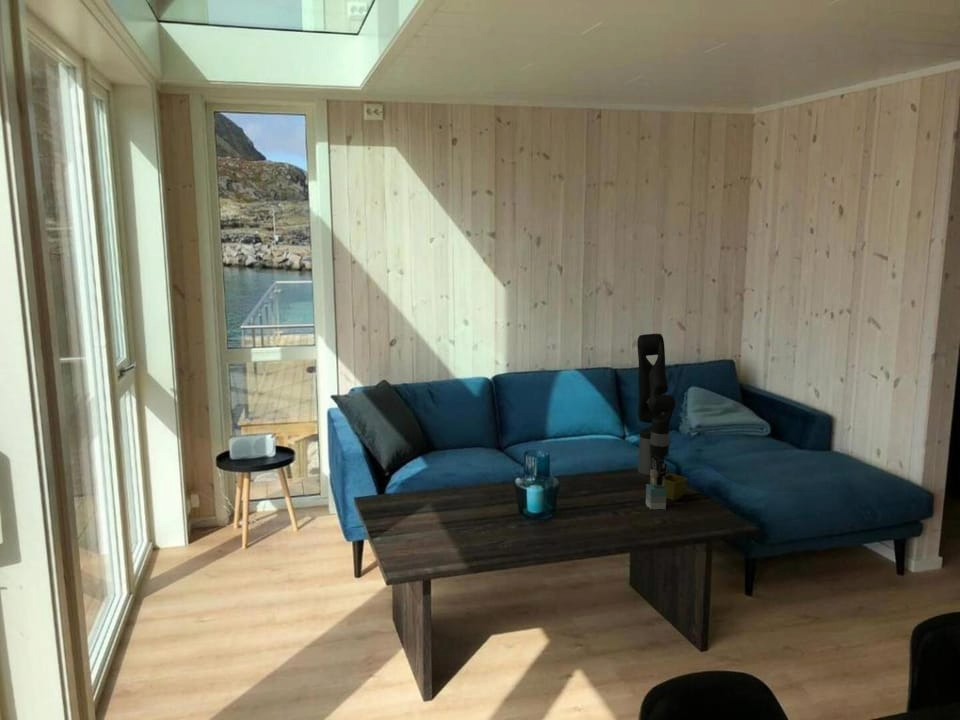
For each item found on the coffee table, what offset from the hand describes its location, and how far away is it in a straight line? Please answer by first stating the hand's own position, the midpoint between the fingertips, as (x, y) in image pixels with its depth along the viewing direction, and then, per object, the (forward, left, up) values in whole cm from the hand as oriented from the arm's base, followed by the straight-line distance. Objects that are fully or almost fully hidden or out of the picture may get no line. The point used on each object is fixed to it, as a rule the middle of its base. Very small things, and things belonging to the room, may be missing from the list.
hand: (657, 482), depth 315 cm
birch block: (0, 0, -1) cm, 1 cm away
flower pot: (-10, +10, -10) cm, 18 cm away
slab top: (0, 0, -5) cm, 5 cm away
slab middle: (0, 0, -8) cm, 8 cm away
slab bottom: (0, 0, -11) cm, 11 cm away
